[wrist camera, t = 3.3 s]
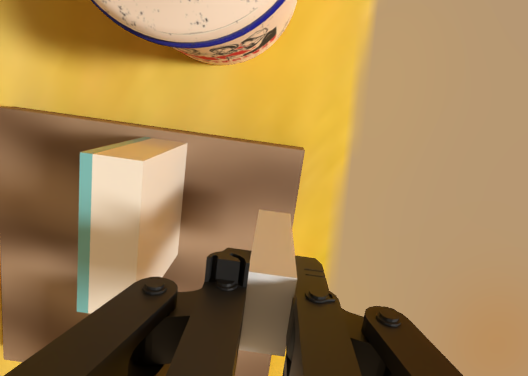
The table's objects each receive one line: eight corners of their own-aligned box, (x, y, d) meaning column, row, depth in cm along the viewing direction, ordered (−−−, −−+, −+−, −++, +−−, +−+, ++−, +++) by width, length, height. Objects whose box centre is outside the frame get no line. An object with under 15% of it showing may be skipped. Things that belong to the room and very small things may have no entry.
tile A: (144, 136, 21) (80, 152, 14) (187, 142, 21) (143, 161, 14) (138, 248, 22) (76, 311, 16) (177, 254, 22) (133, 319, 16)
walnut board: (14, 106, 22) (-5, 106, 21) (302, 147, 22) (304, 150, 21) (19, 345, 26) (3, 359, 25) (265, 381, 26) (264, 397, 25)
